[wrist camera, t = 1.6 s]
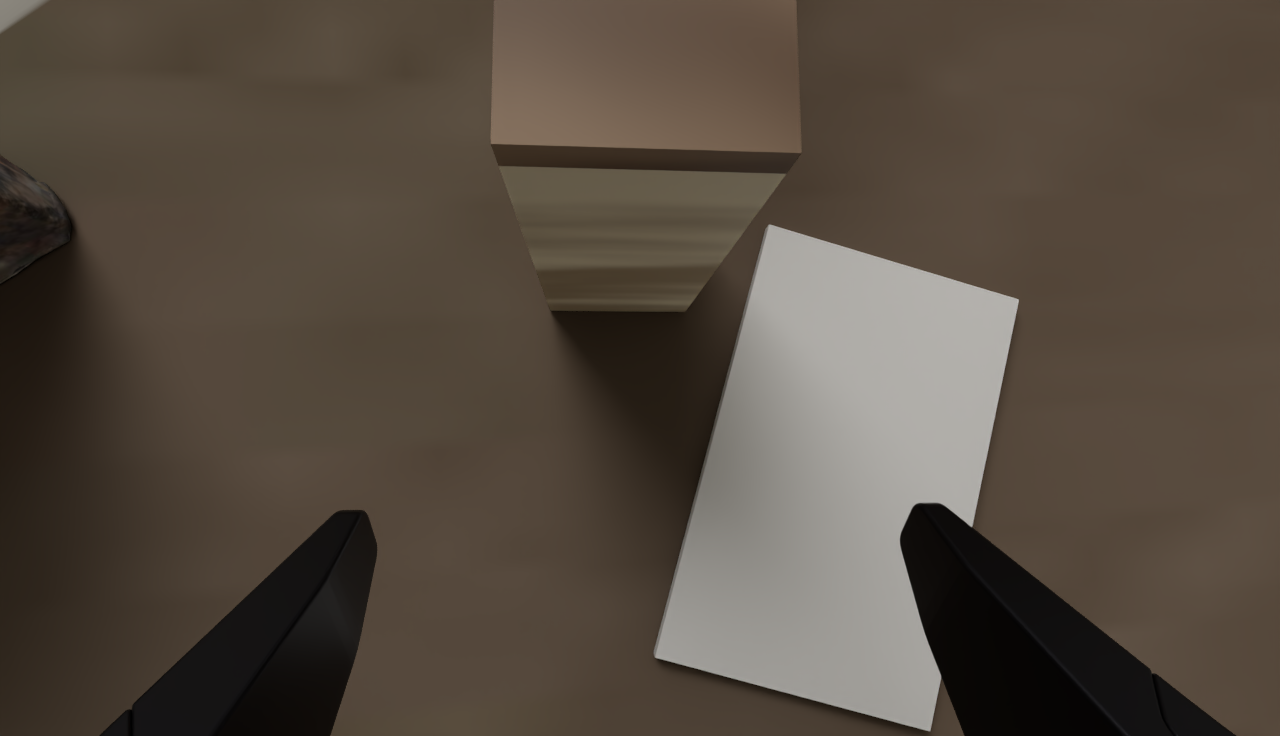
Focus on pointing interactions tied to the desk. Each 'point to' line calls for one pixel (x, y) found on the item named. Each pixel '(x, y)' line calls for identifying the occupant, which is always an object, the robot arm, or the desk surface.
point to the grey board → (835, 475)
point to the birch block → (641, 138)
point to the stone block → (27, 220)
